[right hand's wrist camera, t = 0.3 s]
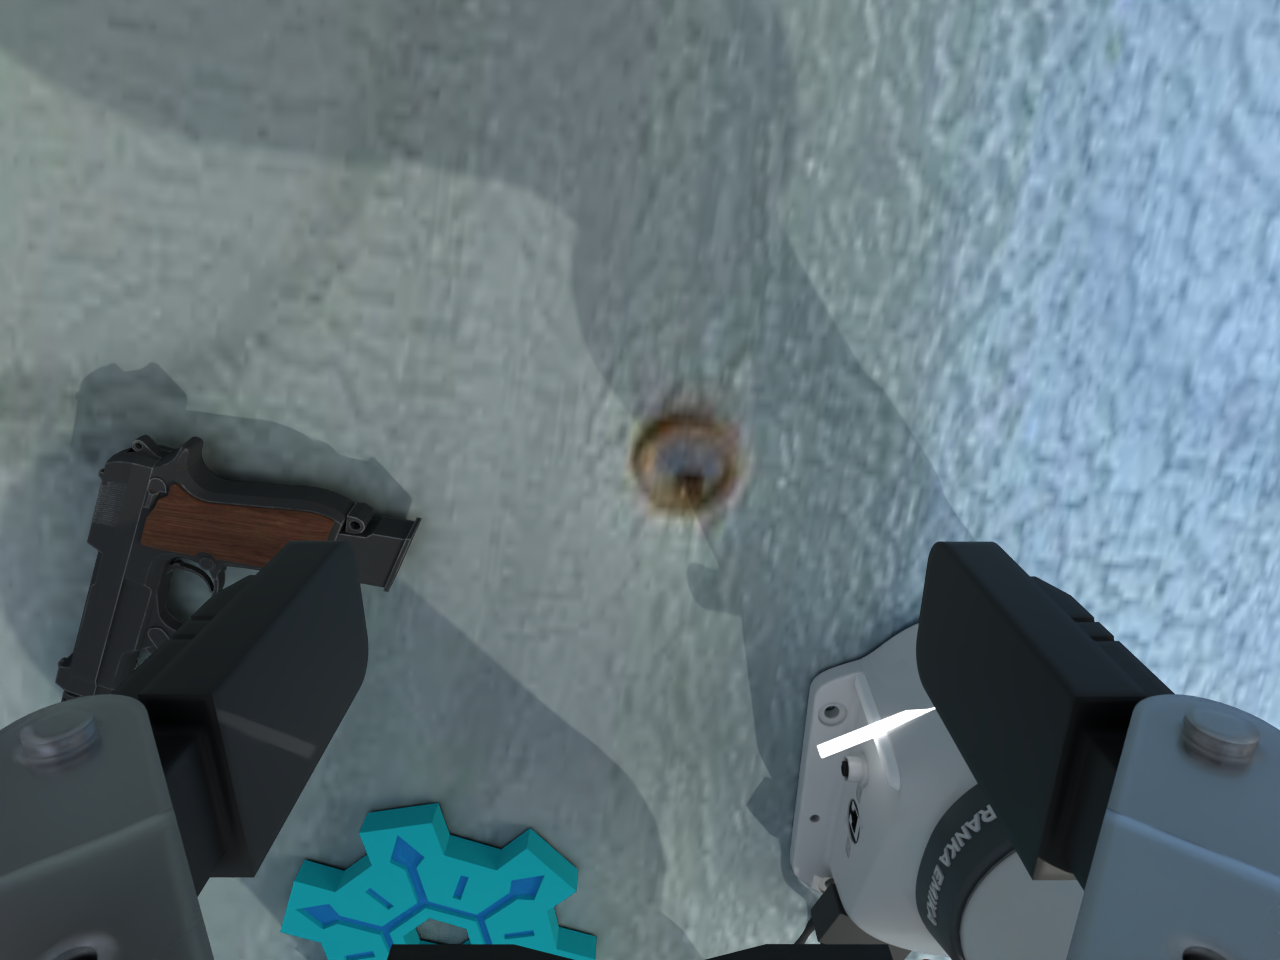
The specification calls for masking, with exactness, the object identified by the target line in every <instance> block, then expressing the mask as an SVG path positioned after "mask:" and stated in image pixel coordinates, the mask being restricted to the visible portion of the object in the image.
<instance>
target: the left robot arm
mask: <svg viewBox="0 0 1280 960" xmlns="http://www.w3.org/2000/svg"><path fill="white" fill-rule="evenodd" d="M918 625H919V623H917V624H915V625H913V626H911V627H909V628H907V629H905V630H903V631H901V632H900V633H898V634H897V635H895V636H893V637H892V638H891V639H889V640H888V641H886V642H885V643H884V644H882V645H881V646H880V647H878V648H877V649H876V650H874V651H873V652H871V653H870V654H868V655H867V656H865V657H863V658H861V659H859V660H855V661H852V662H849V663H845V664H842V665H839V666H836V667H833V668H830V669H828V670H826V671H824V672H822V673H820V674H819V675H817V676H816V677H815V678H814V680H813V681H812V683H811V686H810V690H809V698H808V706H807V714H806V723H805V731H804V739H803V747H802V756H801V764H800V772H799V780H798V788H797V797H796V805H795V813H794V821H793V830H792V838H791V847H790V863H791V866H792V869H793V872H794V874H795V875H796V876H797V877H798V878H799V879H801V880H802V881H803V882H804V883H806V884H807V885H808V886H810V887H811V888H813V889H815V890H817V891H818V892H820V893H822V896H821V897H820V898H819V900H818V901H817V902H816V904H815V905H814V906H813V908H812V909H811V914H812V918H811V919H810V920H809V922H808V924H807V926H806V928H805V930H804V932H803V933H802V935H801V936H800V938H799V939H798V940H797V941H796V943H795V944H804V943H805V941H806V940H807V938H808V936H809V935H810V934H811V933H812V931H814V930H815V931H816V935H817V940H818V942H820V943H821V944H888V946H889V949H890V952H891V955H892V958H893V960H904V959H905V958H906V957H907V956H908V954H909V953H910V952H911V951H915V952H920V953H925V954H931V955H937V956H944V957H950V958H951V959H952V960H1066V957H1067V954H1068V950H1069V946H1070V943H1071V939H1072V935H1073V931H1074V928H1075V924H1076V920H1077V917H1078V913H1079V909H1080V905H1081V902H1082V898H1083V894H1084V890H1083V889H1082V887H1081V886H1080V884H1079V882H1078V881H1077V880H1032V879H1031V877H1030V875H1029V873H1028V871H1027V870H1026V868H1025V866H1024V864H1023V863H1022V861H1021V859H1020V857H1019V856H1018V854H1017V852H1016V850H1015V849H1014V847H1013V845H1012V843H1011V841H1010V840H1009V838H1008V836H1007V834H1006V833H1005V831H1004V829H1003V827H1002V826H1001V824H1000V822H999V820H998V818H997V817H996V815H995V813H994V811H993V810H992V808H991V806H990V804H989V803H988V801H987V799H986V797H985V796H984V794H983V792H982V790H981V788H980V787H979V785H978V783H977V781H976V780H975V778H974V776H973V774H972V773H971V771H970V769H969V767H968V765H967V764H966V762H965V760H964V758H963V757H962V755H961V753H960V751H959V750H958V748H957V746H956V744H955V743H954V741H953V739H952V737H951V735H950V734H949V732H948V730H947V728H946V727H945V725H944V723H943V721H942V720H941V718H940V716H939V714H938V713H937V711H936V709H935V707H934V705H933V704H932V702H931V700H930V698H929V697H928V695H927V693H926V691H925V690H924V688H923V686H922V683H921V680H920V677H919V673H918V669H917V662H916V640H917V632H918ZM830 706H835V708H834V709H833V710H829V711H828V710H825V709H826V708H827V707H830ZM831 878H832V879H831ZM923 960H928V959H923Z"/></svg>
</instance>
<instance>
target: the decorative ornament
mask: <svg viewBox="0 0 1280 960" xmlns="http://www.w3.org/2000/svg"><path fill="white" fill-rule="evenodd" d="M359 835H360V837H361V840H362V842H363V845H364V847H365V849H366V852H367V855H366V856H364V857H363V858H361V859H360V860H359V861H357V862H356V863H355V864H353V865H352V866H350V867H349V868H348V869H346V870H345V871H343V870H339V869H336V868H332V867H329V866H325V865H321V864H318V863H314V862H311V861H307V860H304V862H303V864H302V866H301V868H300V870H299V872H298V874H297V876H296V878H295V880H294V883H293V887H292V891H291V894H290V898H289V902H288V905H287V909H286V913H285V916H284V920H283V923H282V927H281V931H280V932H282V933H286V934H290V935H294V936H297V937H301V938H305V939H309V940H313V941H316V942H320V943H321V944H322V947H323V949H324V951H325V954H326V956H327V959H328V960H387V958H388V955H389V952H390V949H391V946H392V944H435V943H430V942H426V941H421V940H420V939H419V936H418V934H417V931H416V927H417V926H419V925H420V924H422V923H423V922H424V921H426V920H427V919H429V918H431V919H434V920H438V921H441V922H445V923H448V924H452V925H455V926H459V927H462V928H465V929H467V932H468V936H469V940H468V941H466V942H465V943H463V944H515V945H519V946H523V947H527V948H531V949H535V950H539V951H542V952H546V953H550V954H554V955H558V956H562V957H566V958H570V959H574V960H595V957H596V939H597V937H596V936H592V935H588V934H584V933H580V932H577V931H573V930H569V929H565V928H561V927H559V926H558V922H557V918H556V914H555V909H554V906H556V905H557V904H559V903H560V902H562V901H563V900H564V899H566V898H567V897H569V896H570V895H572V894H573V893H575V892H576V890H577V879H578V869H577V868H575V867H574V866H573V865H572V864H571V863H570V862H569V861H567V860H566V859H565V858H564V857H563V856H562V855H560V854H559V853H558V852H557V851H556V850H555V849H554V848H552V847H551V846H550V845H549V844H548V843H547V842H546V841H544V840H543V839H542V838H541V837H540V836H539V835H538V834H536V833H535V832H534V831H533V830H532V829H531V828H530V829H528V830H527V831H526V832H524V833H523V834H521V835H520V836H519V837H517V838H516V839H515V840H513V841H512V842H511V843H509V844H508V845H507V846H505V847H504V848H502V849H497V848H494V847H491V846H487V845H484V844H480V843H477V842H473V841H470V840H466V839H463V838H459V837H456V836H453V835H450V833H449V831H448V828H447V825H446V823H445V820H444V817H443V814H442V812H441V809H440V806H439V804H438V803H434V804H427V805H420V806H413V807H406V808H399V809H391V810H384V811H377V812H370V813H367V816H366V818H365V820H364V822H363V825H362V827H361V829H360V832H359Z"/></svg>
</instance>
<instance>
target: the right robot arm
mask: <svg viewBox="0 0 1280 960" xmlns="http://www.w3.org/2000/svg"><path fill="white" fill-rule="evenodd" d="M367 662H368V637H367V629H366V622H365V615H364V608H363V601H362V594H361V587H360V580H359V573H358V566H357V559H356V555H355V551H354V549H353V547H352V545H351V544H350V543H349V542H348V541H290V542H288V543H287V544H286V545H285V546H284V547H283V548H282V549H281V550H280V551H279V552H278V553H277V554H276V555H275V556H274V557H273V558H272V559H271V560H270V561H269V562H268V563H267V564H266V565H265V566H264V567H263V568H262V569H261V570H260V571H259V572H258V573H257V574H256V575H249V576H247V577H245V578H244V579H242V580H240V581H238V582H236V583H234V584H232V585H230V586H229V587H227V588H225V589H223V590H221V591H219V592H217V593H216V594H214V595H213V596H212V597H211V598H210V599H209V600H208V601H207V602H206V603H205V604H204V605H203V606H202V607H200V608H199V609H198V610H197V611H196V612H195V613H194V614H193V615H192V619H191V620H187V621H186V622H185V623H184V624H183V625H182V626H181V627H180V628H179V629H177V630H176V631H175V632H174V633H173V634H172V639H167V640H166V641H165V642H164V643H163V644H162V645H161V646H160V647H159V648H158V649H157V650H156V651H154V652H153V653H152V654H151V655H150V656H149V657H148V658H147V659H146V660H145V661H144V662H143V663H142V664H141V665H140V666H139V667H138V668H137V669H136V670H135V671H134V672H133V673H131V674H130V675H129V676H128V677H127V678H126V679H125V680H124V681H123V682H122V683H121V684H120V685H119V686H118V687H117V688H116V689H115V690H114V691H113V692H112V693H111V694H104V695H92V696H85V697H80V698H75V699H71V700H67V701H63V702H60V703H57V704H54V705H51V706H48V707H45V708H42V709H40V710H38V711H35V712H33V713H31V714H28V715H26V716H24V717H22V718H20V719H18V720H16V721H15V722H13V723H11V724H10V725H8V726H6V727H5V728H3V729H2V730H0V960H214V957H213V954H212V950H211V946H210V943H209V939H208V935H207V931H206V928H205V924H204V920H203V917H202V913H201V909H200V905H199V902H198V898H197V897H198V895H199V894H200V892H201V891H202V889H203V887H204V886H205V884H206V883H207V881H208V879H209V878H210V877H254V876H255V875H256V873H257V871H258V869H259V867H260V866H261V864H262V862H263V860H264V858H265V857H266V855H267V853H268V851H269V849H270V848H271V846H272V844H273V842H274V841H275V839H276V837H277V835H278V833H279V832H280V830H281V828H282V826H283V824H284V823H285V821H286V819H287V817H288V816H289V814H290V812H291V810H292V808H293V807H294V805H295V803H296V801H297V799H298V798H299V796H300V794H301V792H302V790H303V789H304V787H305V785H306V783H307V782H308V780H309V778H310V776H311V774H312V773H313V771H314V769H315V767H316V765H317V764H318V762H319V760H320V758H321V757H322V755H323V753H324V751H325V749H326V748H327V746H328V744H329V742H330V740H331V739H332V737H333V735H334V733H335V731H336V730H337V728H338V726H339V724H340V723H341V721H342V719H343V717H344V715H345V714H346V712H347V710H348V708H349V706H350V705H351V703H352V701H353V699H354V698H355V696H356V694H357V692H358V690H359V689H360V687H361V685H362V682H363V680H364V676H365V673H366V668H367ZM916 662H917V669H918V673H919V677H920V680H921V683H922V686H923V688H924V690H925V691H926V693H927V695H928V697H929V698H930V700H931V702H932V704H933V705H934V707H935V709H936V711H937V713H938V714H939V716H940V718H941V720H942V721H943V723H944V725H945V727H946V728H947V730H948V732H949V734H950V735H951V737H952V739H953V741H954V743H955V744H956V746H957V748H958V750H959V751H960V753H961V755H962V757H963V758H964V760H965V762H966V764H967V765H968V767H969V769H970V771H971V773H972V774H973V776H974V778H975V780H976V781H977V783H978V785H979V787H980V788H981V790H982V792H983V794H984V796H985V797H986V799H987V801H988V803H989V804H990V806H991V808H992V810H993V811H994V813H995V815H996V817H997V818H998V820H999V822H1000V824H1001V826H1002V827H1003V829H1004V831H1005V833H1006V834H1007V836H1008V838H1009V840H1010V841H1011V843H1012V845H1013V847H1014V849H1015V850H1016V852H1017V854H1018V856H1019V857H1020V859H1021V861H1022V863H1023V864H1024V866H1025V868H1026V870H1027V871H1028V873H1029V875H1030V877H1031V879H1032V880H1077V881H1078V882H1079V884H1080V886H1081V887H1082V889H1083V890H1084V894H1083V898H1082V902H1081V905H1080V909H1079V913H1078V917H1077V920H1076V924H1075V928H1074V931H1073V935H1072V939H1071V943H1070V946H1069V950H1068V954H1067V957H1066V960H1280V730H1278V729H1277V728H1275V727H1274V726H1272V725H1270V724H1269V723H1267V722H1265V721H1264V720H1262V719H1260V718H1258V717H1256V716H1254V715H1252V714H1249V713H1247V712H1245V711H1242V710H1240V709H1238V708H1235V707H1232V706H1229V705H1226V704H1223V703H1220V702H1217V701H1213V700H1209V699H1205V698H1200V697H1195V696H1188V695H1176V694H1174V693H1173V692H1172V691H1171V690H1170V689H1169V688H1168V687H1167V686H1166V685H1165V684H1164V683H1163V682H1162V681H1161V680H1159V679H1158V678H1157V677H1156V676H1155V675H1154V674H1153V673H1152V672H1151V671H1150V670H1149V669H1148V668H1147V667H1146V666H1145V665H1144V664H1143V663H1142V662H1140V661H1139V660H1138V659H1137V658H1136V657H1135V656H1134V655H1133V654H1132V653H1131V652H1130V651H1129V650H1128V649H1127V648H1126V647H1125V646H1124V645H1123V644H1121V643H1120V642H1119V641H1114V636H1113V635H1112V634H1111V633H1110V632H1109V631H1108V630H1107V629H1106V628H1105V627H1104V626H1102V625H1101V624H1100V623H1099V622H1094V617H1093V616H1092V615H1091V614H1090V613H1089V612H1088V611H1087V610H1086V609H1085V608H1084V607H1082V606H1081V605H1080V604H1079V603H1078V602H1077V601H1076V600H1075V599H1074V598H1073V597H1072V596H1071V595H1069V594H1067V593H1065V592H1063V591H1062V590H1060V589H1058V588H1056V587H1054V586H1052V585H1050V584H1048V583H1047V582H1045V581H1043V580H1041V579H1039V578H1037V577H1030V576H1029V575H1028V574H1027V573H1026V572H1025V571H1024V570H1023V569H1022V568H1021V567H1020V566H1019V565H1018V564H1017V563H1016V562H1015V561H1014V560H1013V559H1012V558H1011V557H1010V556H1009V555H1008V554H1007V553H1006V552H1005V551H1004V550H1003V549H1002V548H1001V547H1000V546H999V545H998V544H996V543H994V542H937V543H935V544H934V545H933V547H932V549H931V551H930V554H929V557H928V563H927V570H926V577H925V584H924V591H923V597H922V604H921V611H920V618H919V625H918V632H917V640H916ZM387 960H574V959H570V958H566V957H562V956H558V955H554V954H550V953H546V952H542V951H539V950H535V949H531V948H527V947H523V946H519V945H515V944H392V946H391V949H390V952H389V955H388V958H387ZM706 960H893V958H892V955H891V952H890V949H889V946H888V944H765V945H761V946H757V947H753V948H749V949H745V950H741V951H738V952H734V953H730V954H726V955H722V956H718V957H714V958H710V959H706Z"/></svg>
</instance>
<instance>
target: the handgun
mask: <svg viewBox="0 0 1280 960" xmlns="http://www.w3.org/2000/svg"><path fill="white" fill-rule="evenodd" d="M202 447H203V440H202V439H201V438H198V437H192V438H191V439H190V440H188V441H187V442H186V443H184V444H183V445H182V446H181V447H179V449H172V448H169V447H165V446H161V445H157V444H156V443H155V441H154V440H153V439H152V438H151V437H150V436H147V435H143V436H141V437H139V438H138V439H136V440H135V441H133V443H132V448H129V449H125V450H123V451H121V452H119V453H117V454H115V455H113V456H112V457H111V458H110V459H109V460H108V461H107V463H106V465H105V469H102V470H100V471H99V474H98V476H99V477H100V478H101V479H102V482H101V486H100V490H99V494H98V498H97V502H96V507H95V511H94V515H93V519H92V523H91V527H90V532H89V536H88V540H87V543H88V544H90V545H91V546H92V547H94V548H95V549H97V550H98V555H97V559H96V563H95V567H94V571H93V576H92V580H91V584H90V588H89V592H88V596H87V600H86V604H85V608H84V612H83V616H82V620H81V624H80V628H79V632H78V636H77V640H76V644H75V648H74V652H73V653H72V654H71V655H70V656H69V657H68V658H65V657H64V658H62V659H61V660H60V661H59V662H58V667H59V669H58V673H57V677H56V681H55V683H56V684H57V685H59V686H60V687H61V688H62V689H64V692H63V697H62V701H61V702H63V701H67V700H71V699H75V698H80V697H85V696H92V695H104V694H111V693H112V692H113V691H114V690H115V689H116V688H117V687H118V686H119V685H120V684H121V683H122V682H123V681H124V680H125V679H126V678H127V677H128V676H129V675H130V674H131V673H133V671H134V668H135V664H136V661H137V657H138V654H139V650H141V649H146V650H147V651H148V652H149V653H153V652H154V651H156V650H157V649H158V648H159V647H160V646H161V645H162V644H163V643H164V642H165V641H166V640H167V639H172V634H173V633H174V632H175V631H176V630H177V629H179V628H180V627H181V626H182V625H183V624H184V623H183V622H180V621H179V620H177V619H175V618H174V617H173V616H172V615H171V614H170V613H169V611H168V609H167V608H166V605H167V597H168V589H169V582H170V577H171V574H172V571H175V570H187V571H191V572H193V573H196V574H197V575H199V576H200V577H202V578H203V579H204V580H205V582H206V583H207V585H208V586H209V590H210V592H213V594H212V596H213V595H214V594H216V593H217V592H219V591H221V590H222V589H223V586H224V583H225V570H226V568H227V566H232V567H241V568H248V569H255V570H261V569H262V568H263V567H264V566H265V565H266V564H267V563H268V562H269V561H270V560H271V559H272V558H273V557H274V556H275V555H276V554H277V553H278V552H279V551H280V550H281V549H282V548H283V547H284V546H285V545H286V544H287V543H288V542H290V541H348V542H349V543H350V544H351V545H352V547H353V549H354V551H355V555H356V559H357V566H358V573H359V580H360V583H363V584H368V585H374V586H379V587H385V588H384V591H386V592H388V591H389V589H390V587H391V585H392V583H393V581H394V579H395V577H396V575H397V573H398V571H399V568H400V566H401V564H402V562H403V559H404V557H405V555H406V553H407V550H408V548H409V546H410V544H411V541H412V539H413V537H414V534H415V532H416V530H417V528H418V525H419V523H420V521H421V519H422V518H418V517H417V518H416V520H415V521H410V520H405V519H399V518H393V517H387V516H382V517H380V518H379V519H371V518H372V517H373V515H374V511H373V508H372V507H371V506H369V505H368V504H366V503H362V502H356V503H353V502H352V501H350V500H349V499H347V498H346V497H344V496H342V495H339V494H337V493H334V492H332V491H329V490H325V489H320V488H315V487H303V486H288V485H276V484H265V483H251V482H240V481H229V480H225V479H221V478H219V477H217V476H216V475H214V474H213V473H212V472H211V471H210V470H209V469H208V468H207V467H206V465H205V463H204V462H203V459H202V455H201V451H202ZM176 557H183V558H187V559H190V560H193V561H195V562H197V563H199V565H200V566H201V567H202V568H203V569H205V570H209V572H210V574H211V576H212V579H214V585H213V583H212V581H211V579H210V577H209V576H208V575H207V574H206V573H205V572H204V571H203V570H201V569H200V568H198V567H196V566H193V565H190V564H187V563H184V562H183V561H182V560H177V561H175V560H176ZM213 590H214V591H213Z"/></svg>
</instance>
